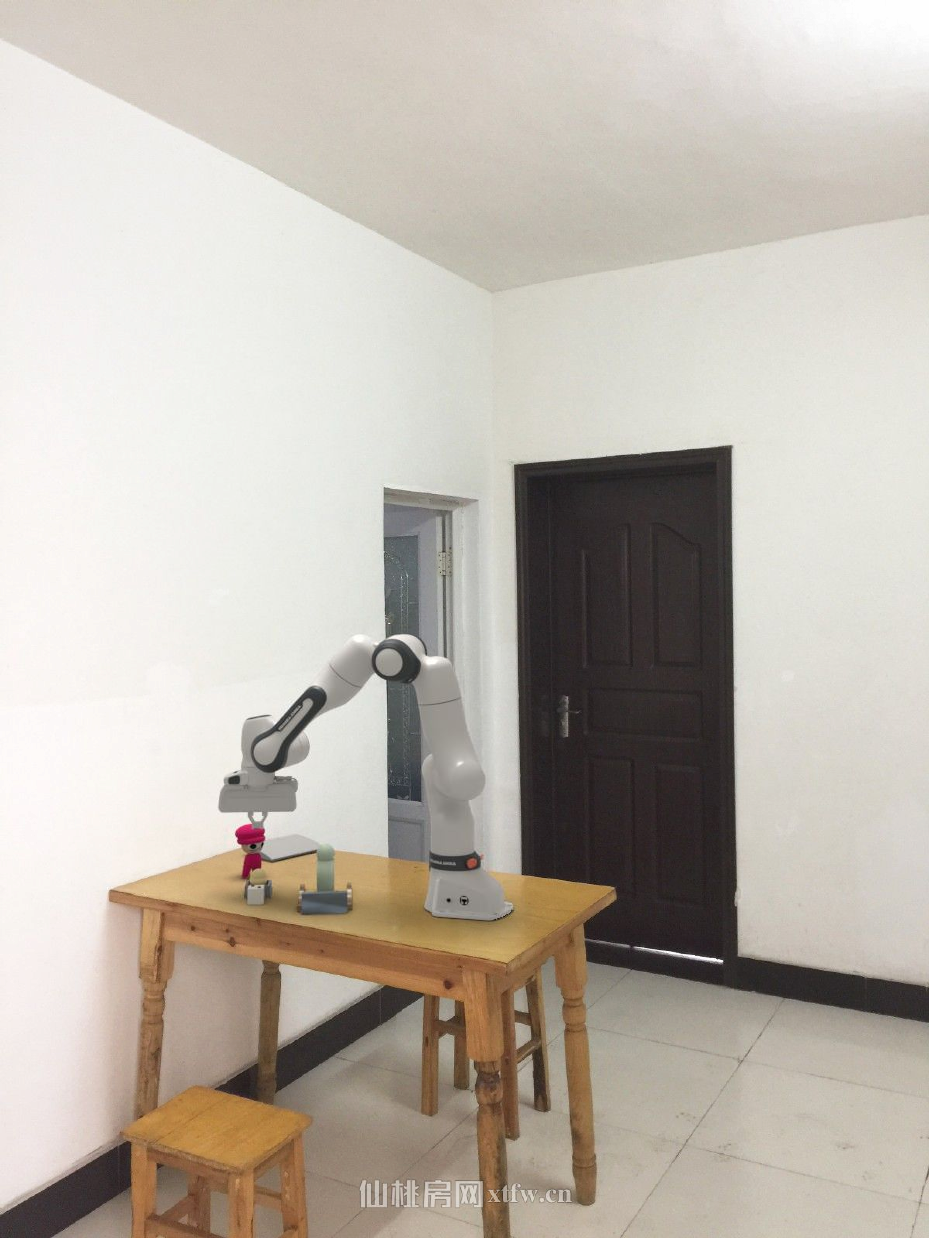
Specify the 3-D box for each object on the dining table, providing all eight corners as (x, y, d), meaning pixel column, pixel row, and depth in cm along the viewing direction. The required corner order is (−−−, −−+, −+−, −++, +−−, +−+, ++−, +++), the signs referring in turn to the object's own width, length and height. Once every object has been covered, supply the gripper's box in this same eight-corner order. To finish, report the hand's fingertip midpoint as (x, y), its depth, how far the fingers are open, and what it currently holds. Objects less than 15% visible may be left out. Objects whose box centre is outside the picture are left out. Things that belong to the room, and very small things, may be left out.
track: (300, 889, 283) (300, 870, 283) (351, 887, 285) (351, 869, 284) (296, 914, 260) (296, 894, 260) (352, 912, 261) (352, 892, 261)
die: (264, 899, 272) (264, 882, 272) (263, 904, 268) (263, 886, 268) (248, 900, 272) (248, 883, 272) (247, 904, 268) (247, 887, 268)
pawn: (338, 891, 280) (338, 843, 280) (328, 896, 276) (328, 846, 276) (322, 889, 282) (322, 841, 282) (312, 894, 278) (312, 845, 278)
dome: (267, 882, 280) (267, 866, 280) (266, 886, 276) (266, 870, 276) (250, 882, 280) (250, 866, 280) (249, 887, 275) (249, 871, 275)
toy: (250, 882, 289) (250, 828, 289) (228, 878, 294) (228, 824, 294) (272, 876, 296) (271, 823, 296) (250, 871, 301) (250, 819, 301)
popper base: (272, 890, 282) (272, 879, 282) (270, 897, 275) (270, 886, 275) (246, 891, 281) (246, 880, 281) (243, 898, 274) (243, 886, 274)
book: (236, 857, 321) (236, 844, 321) (295, 844, 338) (295, 832, 338) (268, 865, 311) (268, 852, 311) (327, 851, 328) (327, 839, 328)
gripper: (298, 774, 282) (298, 825, 282) (220, 774, 279) (220, 826, 279) (297, 777, 275) (297, 830, 275) (217, 778, 273) (217, 831, 273)
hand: (257, 828), depth 277 cm, fingers closed
